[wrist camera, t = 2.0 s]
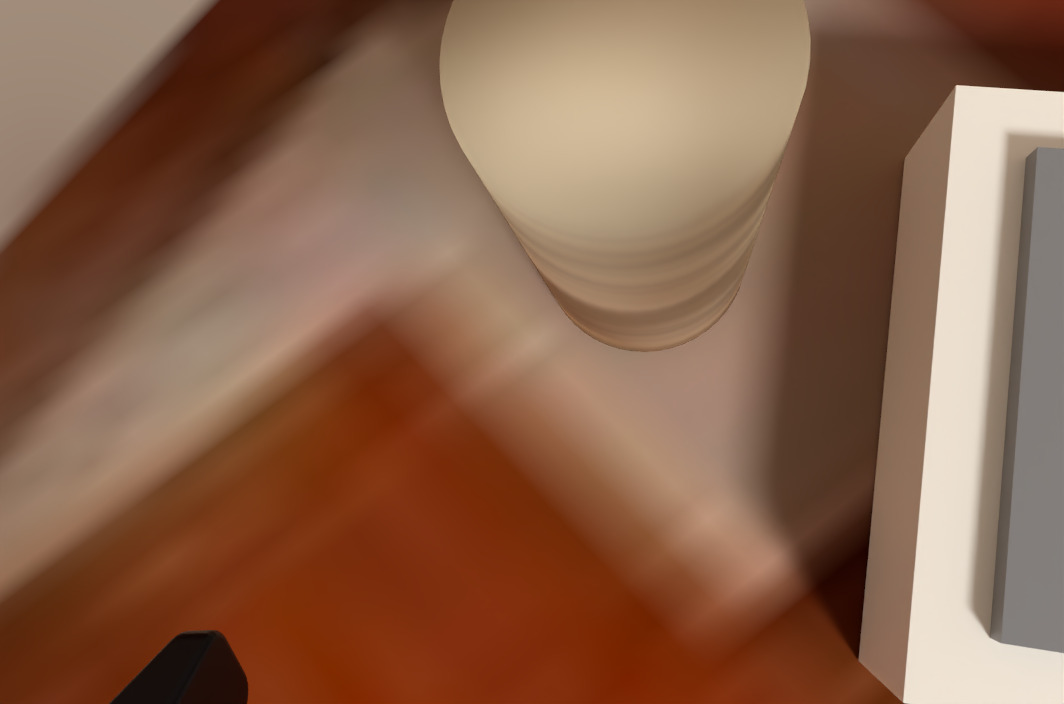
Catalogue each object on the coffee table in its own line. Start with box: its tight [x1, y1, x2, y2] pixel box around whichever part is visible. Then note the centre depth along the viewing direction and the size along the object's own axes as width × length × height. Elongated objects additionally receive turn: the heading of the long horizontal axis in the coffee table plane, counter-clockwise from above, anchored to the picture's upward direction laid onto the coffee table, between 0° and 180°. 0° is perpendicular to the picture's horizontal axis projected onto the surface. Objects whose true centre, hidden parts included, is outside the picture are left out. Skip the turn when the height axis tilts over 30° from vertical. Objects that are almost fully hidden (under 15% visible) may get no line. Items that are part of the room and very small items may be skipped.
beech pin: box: [439, 0, 811, 352], centre depth 18 cm, size 5×5×11 cm
